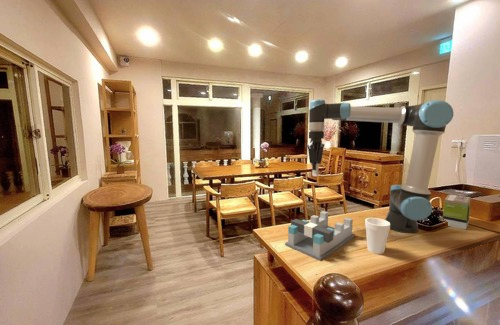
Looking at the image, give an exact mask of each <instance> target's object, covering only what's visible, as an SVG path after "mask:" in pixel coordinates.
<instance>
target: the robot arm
mask: <svg viewBox="0 0 500 325" xmlns="http://www.w3.org/2000/svg"><path fill="white" fill-rule="evenodd" d="M308 110H309V111H308V114H309V115H308V116H309V117H308V118H309V120H308V124H309V125H308V130H309V131H308V138H309V139H310V142H309V144H307V145H306V146H307V150H308V151H307V152H308V157H309V158H308V159H309V164H311V165H312V166H311V167H312V168H311V171H312V173H311V175H312V177H319V167H320V165H319V164H322V161H323V160H322V159H323V154H324V153H323V152H324V147H325V144H324V143H323V139H324V138H325V132H324V130H325V120H330V119H331V120H332V121H351V122H352V121H353V122H354V121H355V122H371V123H388V124H389V123H390V124H391V123H393V124H394V123H395V124H398V125H399V126H407V127H412V129H411V130H412V132H413V133H414V140H413V145H412V152H411V154H410V160H409V163H408V164H409V165H408V170H407V175H406V179H405V184H392V185H390V189H389V194H390V196H389V204H388V205H389V207H388V213H387V214H386V217H385V219H384V220H386V221H388V222H390V230H393V231H395V232H399V233H406V234H414V233H417V232H418V231H419V224H418V221H423V220H424V219H427V218H428V217H429V216H430V215H431V214H432V212H433V206H432V203H431V202H430V199H431V195H432V192H431V191H430V190H429V184H430V180H431V177H432V176H431V175H432V171H433V165H434V160H435V157H436V152H437V148H438V142H439V139H440V138H439V137H441V135H444V134H445V130H446V127H447V125H448V124H449V123H451V121H452V120H453V117H454V109H453V107H452V106H451V104H449V102H447V101H444V100H441V99H437V100H429V101H426V102H423V103H419V104H415V105H402V106H401V107H381V106H352V105H351V103H349V102H339V103H338V102H337V103H336V102H335V103H326V100H325V99H313V100H311V101H310V102H309V109H308Z"/></svg>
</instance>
